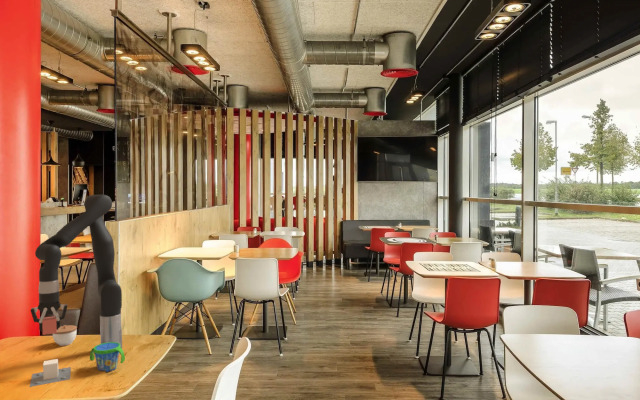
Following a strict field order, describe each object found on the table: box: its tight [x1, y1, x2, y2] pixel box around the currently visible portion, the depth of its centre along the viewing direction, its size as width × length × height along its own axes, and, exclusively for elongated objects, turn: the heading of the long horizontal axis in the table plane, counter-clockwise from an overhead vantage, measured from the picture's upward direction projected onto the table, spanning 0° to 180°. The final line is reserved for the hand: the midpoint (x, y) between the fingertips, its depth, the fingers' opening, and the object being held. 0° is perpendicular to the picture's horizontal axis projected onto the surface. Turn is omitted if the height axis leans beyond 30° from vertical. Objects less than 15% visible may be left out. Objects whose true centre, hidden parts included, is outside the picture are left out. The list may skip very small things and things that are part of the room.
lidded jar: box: [52, 324, 78, 347], centre depth 226 cm, size 11×11×9 cm
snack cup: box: [89, 342, 126, 373], centre depth 194 cm, size 16×10×10 cm
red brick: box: [42, 315, 57, 336], centre depth 193 cm, size 5×5×6 cm
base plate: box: [29, 366, 72, 388], centre depth 185 cm, size 14×14×1 cm
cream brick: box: [42, 358, 59, 380], centre depth 185 cm, size 5×5×6 cm
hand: (49, 329), depth 193 cm, fingers closed on red brick, 5 cm apart
